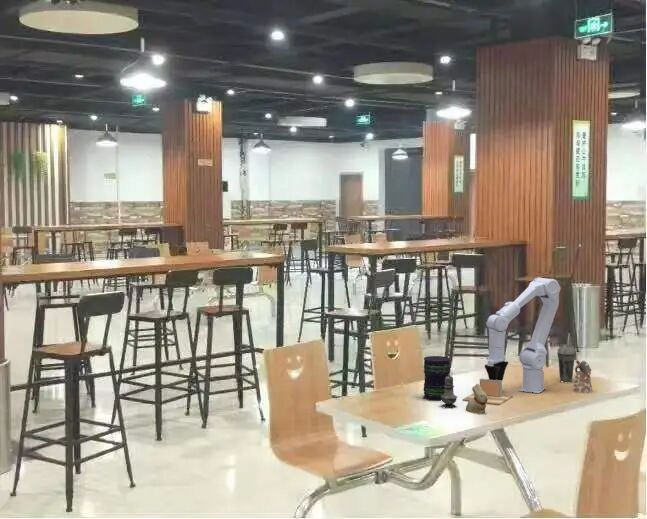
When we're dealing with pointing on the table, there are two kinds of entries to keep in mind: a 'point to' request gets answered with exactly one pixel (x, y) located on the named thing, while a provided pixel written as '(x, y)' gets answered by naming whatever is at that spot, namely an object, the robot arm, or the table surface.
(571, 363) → the beverage cup
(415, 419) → the table surface
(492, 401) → the wooden board
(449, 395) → the salt shaker
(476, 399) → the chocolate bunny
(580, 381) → the figurine
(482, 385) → the tile
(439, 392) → the storage jar
